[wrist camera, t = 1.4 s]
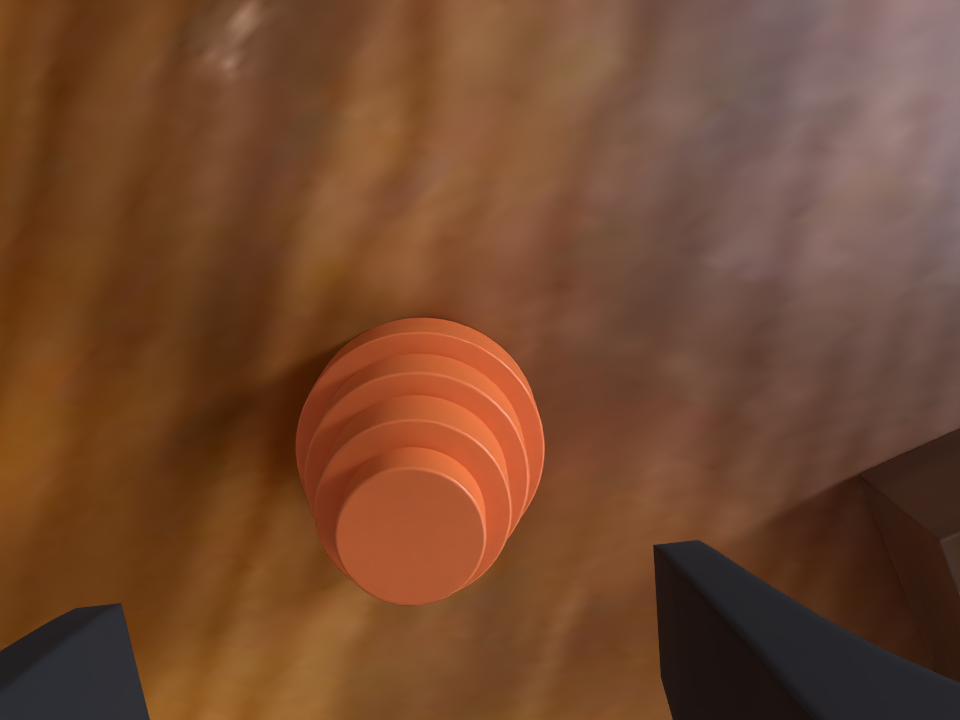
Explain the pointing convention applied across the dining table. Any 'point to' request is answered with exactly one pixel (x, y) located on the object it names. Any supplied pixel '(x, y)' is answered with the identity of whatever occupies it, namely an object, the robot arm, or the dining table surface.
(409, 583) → the cone
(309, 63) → the dining table surface
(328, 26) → the dining table surface
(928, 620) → the block stack
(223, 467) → the dining table surface
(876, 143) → the dining table surface
